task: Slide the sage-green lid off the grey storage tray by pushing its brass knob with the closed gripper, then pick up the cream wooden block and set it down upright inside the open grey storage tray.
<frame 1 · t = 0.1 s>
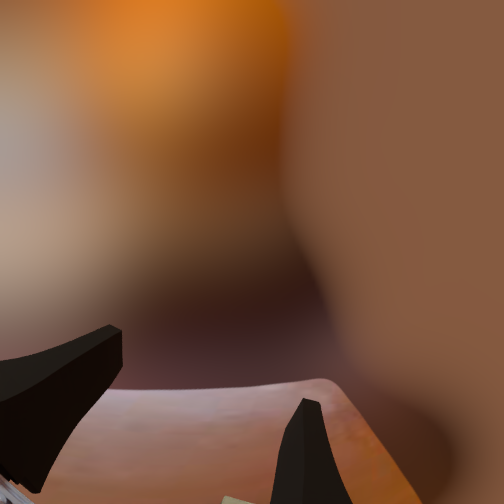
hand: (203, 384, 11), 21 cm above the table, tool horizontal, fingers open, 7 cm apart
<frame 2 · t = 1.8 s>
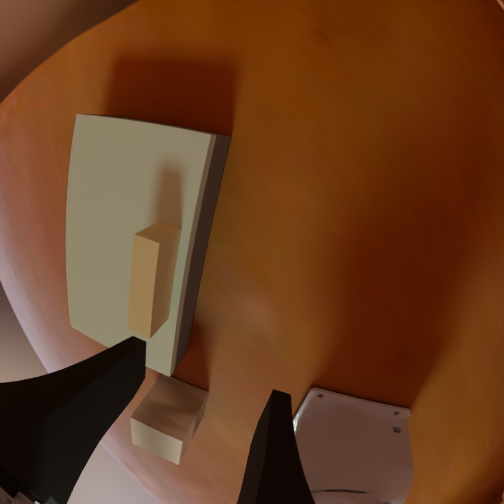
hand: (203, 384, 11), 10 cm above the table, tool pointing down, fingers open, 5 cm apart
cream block: (182, 397, 26), on the table
lid: (108, 259, 17), point 4 cm above the table, slide at 0.0 cm
grey storage tray: (143, 239, 21), on the table
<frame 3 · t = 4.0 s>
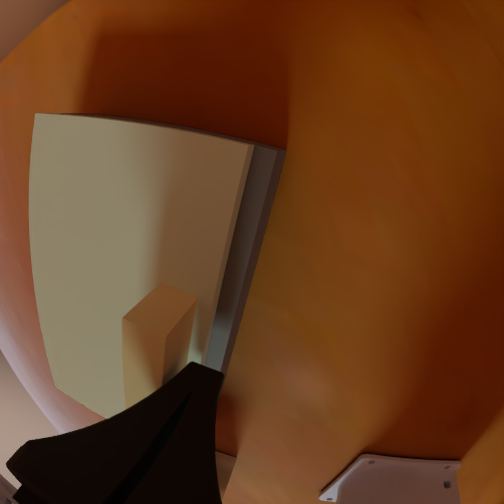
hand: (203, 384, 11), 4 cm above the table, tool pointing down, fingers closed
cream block: (204, 460, 20), on the table
lid: (90, 329, 11), point 4 cm above the table, slide at 0.7 cm, touching gripper
grey storage tray: (151, 292, 15), on the table
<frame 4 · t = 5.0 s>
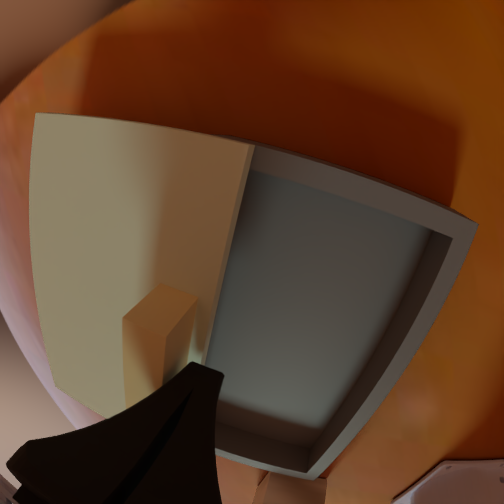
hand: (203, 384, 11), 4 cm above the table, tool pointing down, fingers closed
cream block: (290, 484, 19), on the table
lid: (90, 329, 11), point 4 cm above the table, slide at 8.0 cm, touching gripper
grey storage tray: (288, 340, 14), on the table
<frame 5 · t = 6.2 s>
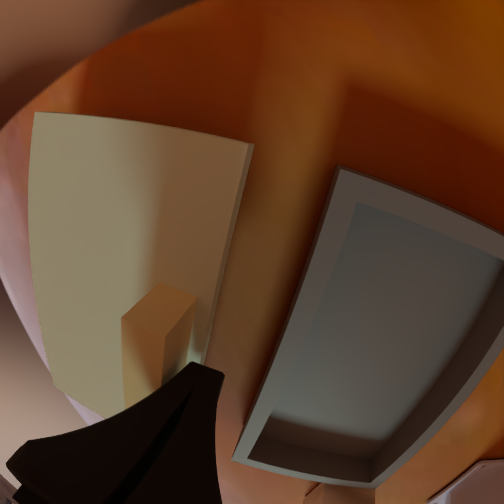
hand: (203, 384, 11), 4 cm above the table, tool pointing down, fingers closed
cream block: (338, 493, 19), on the table
lid: (89, 329, 11), point 4 cm above the table, slide at 12.3 cm, touching gripper
grey storage tray: (369, 363, 14), on the table
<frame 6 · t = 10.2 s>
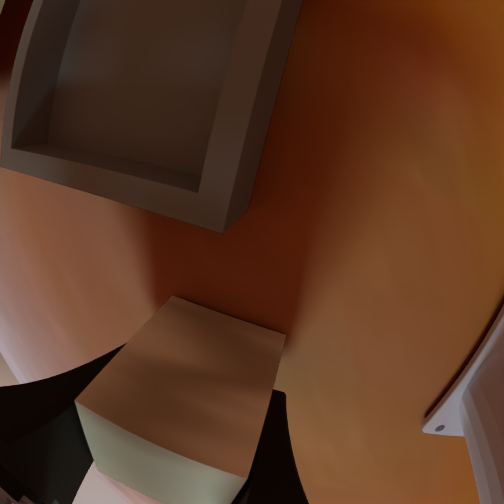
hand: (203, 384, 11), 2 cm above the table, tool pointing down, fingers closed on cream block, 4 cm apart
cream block: (216, 358, 12), on the table, touching gripper
when the fingers open (3 cm above the table, at t = 14.9 s): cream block stays where it is, resting on grey storage tray.
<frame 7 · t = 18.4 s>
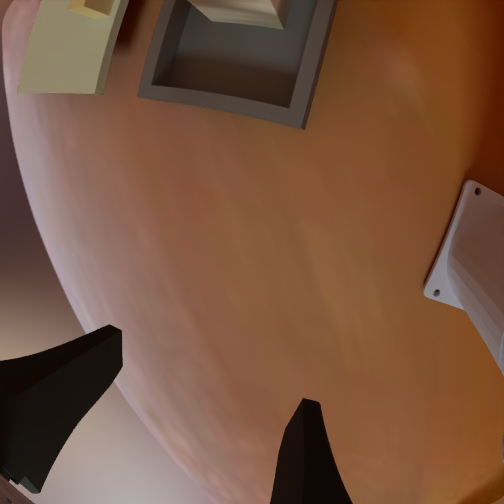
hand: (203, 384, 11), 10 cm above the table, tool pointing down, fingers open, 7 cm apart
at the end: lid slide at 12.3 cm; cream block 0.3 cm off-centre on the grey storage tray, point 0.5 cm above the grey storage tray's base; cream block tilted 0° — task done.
